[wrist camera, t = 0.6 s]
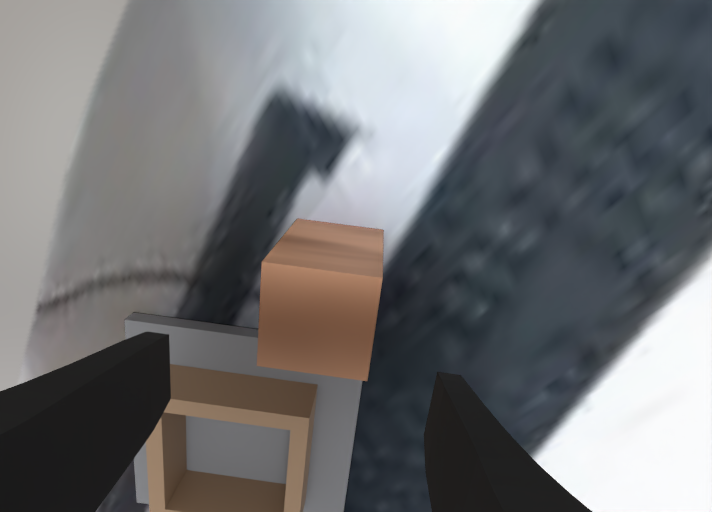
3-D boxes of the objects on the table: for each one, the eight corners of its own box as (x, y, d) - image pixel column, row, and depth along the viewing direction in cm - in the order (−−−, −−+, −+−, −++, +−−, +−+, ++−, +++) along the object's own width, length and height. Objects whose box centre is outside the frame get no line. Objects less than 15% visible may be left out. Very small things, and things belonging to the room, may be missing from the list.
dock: (341, 519, 25) (335, 576, 22) (144, 491, 26) (111, 543, 23) (367, 344, 22) (364, 383, 18) (133, 312, 22) (91, 346, 19)
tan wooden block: (372, 308, 21) (367, 381, 15) (291, 297, 21) (256, 365, 15) (383, 229, 20) (382, 277, 14) (297, 218, 20) (261, 261, 14)
